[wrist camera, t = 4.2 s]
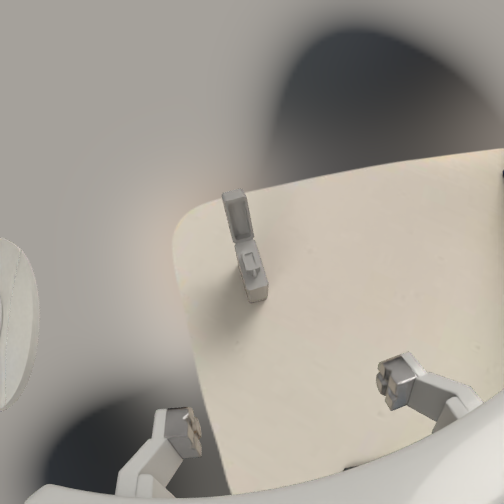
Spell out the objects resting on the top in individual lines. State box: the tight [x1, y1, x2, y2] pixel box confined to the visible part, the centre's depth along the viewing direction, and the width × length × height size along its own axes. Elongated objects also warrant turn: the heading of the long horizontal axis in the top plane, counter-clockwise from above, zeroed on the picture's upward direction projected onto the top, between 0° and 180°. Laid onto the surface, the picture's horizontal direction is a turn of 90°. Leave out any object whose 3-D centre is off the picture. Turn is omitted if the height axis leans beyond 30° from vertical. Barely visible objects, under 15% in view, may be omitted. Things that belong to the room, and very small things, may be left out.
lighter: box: [222, 189, 268, 303], centre depth 25 cm, size 7×2×8 cm, turn 16°
